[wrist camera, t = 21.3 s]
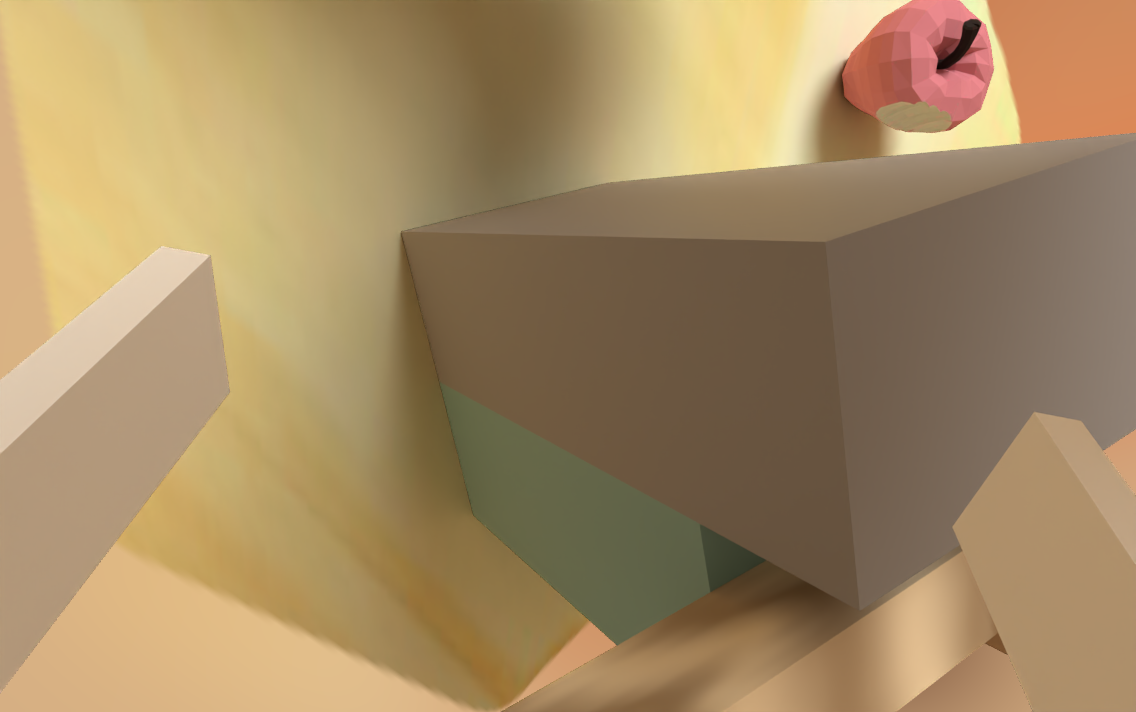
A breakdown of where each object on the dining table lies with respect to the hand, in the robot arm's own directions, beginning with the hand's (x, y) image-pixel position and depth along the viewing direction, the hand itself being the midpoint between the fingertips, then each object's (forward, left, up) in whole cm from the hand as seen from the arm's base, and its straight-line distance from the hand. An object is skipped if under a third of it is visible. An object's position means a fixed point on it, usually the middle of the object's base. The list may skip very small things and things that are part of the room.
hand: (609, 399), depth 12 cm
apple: (+18, +40, -31) cm, 54 cm away
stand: (+13, +7, -31) cm, 34 cm away
